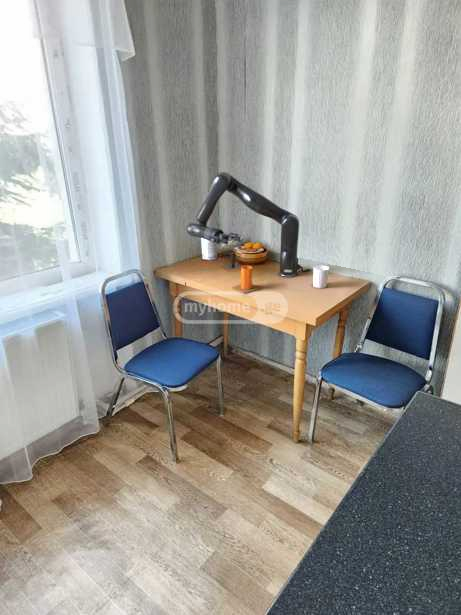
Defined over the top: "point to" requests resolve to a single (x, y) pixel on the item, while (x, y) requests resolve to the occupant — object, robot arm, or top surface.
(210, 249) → the supplement tub
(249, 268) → the orange cylinder
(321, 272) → the white cup
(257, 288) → the cork coaster
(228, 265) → the stake
